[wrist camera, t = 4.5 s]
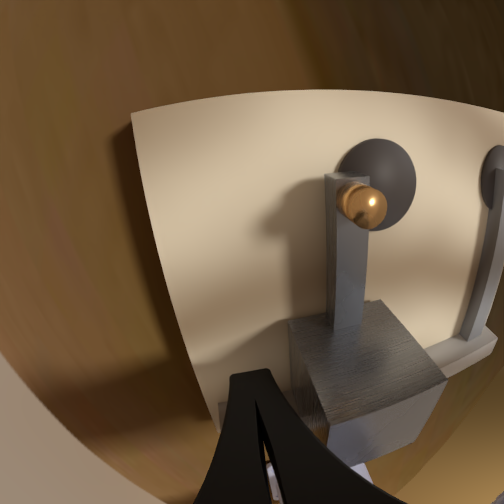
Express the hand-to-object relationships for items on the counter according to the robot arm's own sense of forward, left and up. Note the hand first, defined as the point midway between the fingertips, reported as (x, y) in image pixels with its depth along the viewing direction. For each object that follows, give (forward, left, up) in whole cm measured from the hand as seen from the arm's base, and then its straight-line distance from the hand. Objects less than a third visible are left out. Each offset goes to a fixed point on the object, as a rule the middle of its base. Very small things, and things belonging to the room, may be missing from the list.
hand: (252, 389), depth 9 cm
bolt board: (+2, -6, -3) cm, 7 cm away
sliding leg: (+2, -3, -1) cm, 4 cm away
